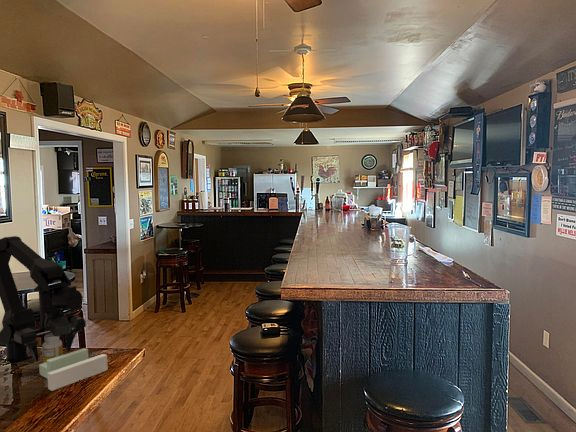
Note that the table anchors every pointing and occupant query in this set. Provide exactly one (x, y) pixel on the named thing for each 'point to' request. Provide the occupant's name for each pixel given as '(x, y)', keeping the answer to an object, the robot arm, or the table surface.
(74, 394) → the table surface
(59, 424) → the table surface
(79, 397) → the table surface
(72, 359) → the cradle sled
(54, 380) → the backstop wall
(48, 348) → the supplement bottle
